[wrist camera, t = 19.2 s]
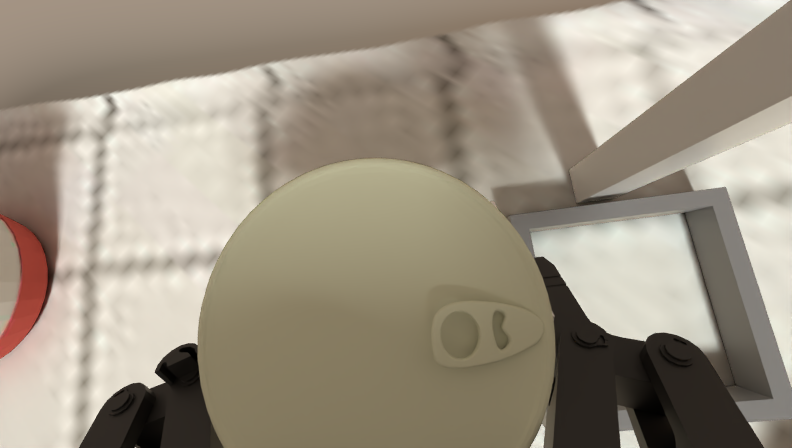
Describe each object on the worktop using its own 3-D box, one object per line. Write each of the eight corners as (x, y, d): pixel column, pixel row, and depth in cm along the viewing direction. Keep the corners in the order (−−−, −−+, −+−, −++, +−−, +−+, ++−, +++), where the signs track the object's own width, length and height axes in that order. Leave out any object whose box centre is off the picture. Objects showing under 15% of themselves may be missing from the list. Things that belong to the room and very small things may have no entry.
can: (486, 377, 18) (601, 579, 6) (331, 378, 18) (159, 554, 7) (473, 221, 19) (542, 132, 7) (331, 228, 20) (193, 160, 8)
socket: (683, 153, 20) (1225, -109, 7) (760, 402, 18) (2002, 876, 4) (494, 180, 22) (614, 4, 8) (538, 418, 19) (854, 832, 5)
